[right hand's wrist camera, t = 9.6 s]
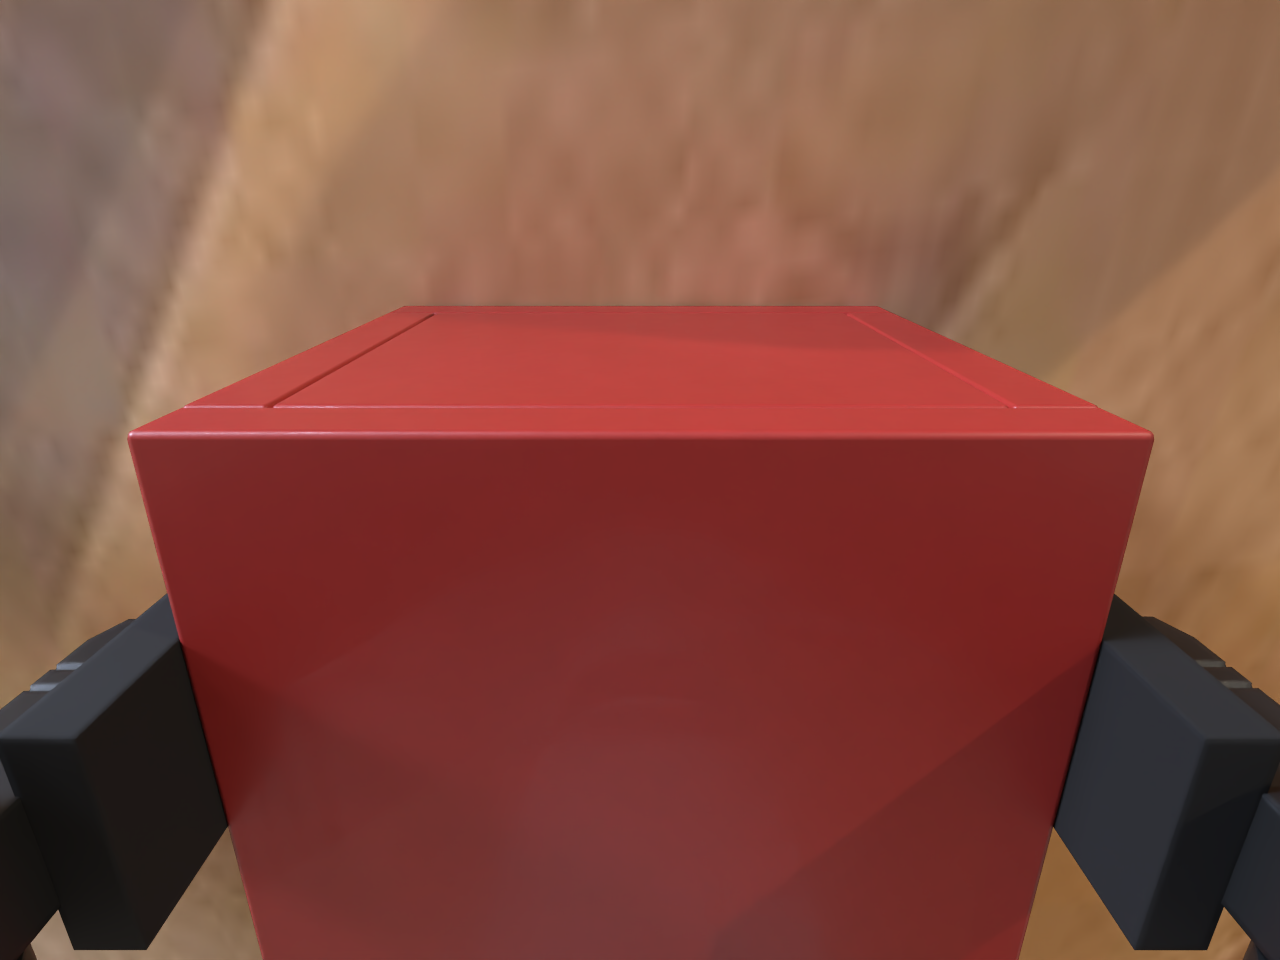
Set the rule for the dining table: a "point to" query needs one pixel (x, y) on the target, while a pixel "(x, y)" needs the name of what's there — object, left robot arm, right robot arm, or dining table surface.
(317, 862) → the cabinet
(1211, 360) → the dining table surface
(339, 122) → the dining table surface
